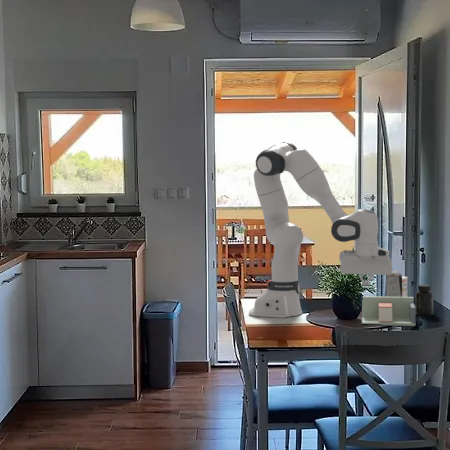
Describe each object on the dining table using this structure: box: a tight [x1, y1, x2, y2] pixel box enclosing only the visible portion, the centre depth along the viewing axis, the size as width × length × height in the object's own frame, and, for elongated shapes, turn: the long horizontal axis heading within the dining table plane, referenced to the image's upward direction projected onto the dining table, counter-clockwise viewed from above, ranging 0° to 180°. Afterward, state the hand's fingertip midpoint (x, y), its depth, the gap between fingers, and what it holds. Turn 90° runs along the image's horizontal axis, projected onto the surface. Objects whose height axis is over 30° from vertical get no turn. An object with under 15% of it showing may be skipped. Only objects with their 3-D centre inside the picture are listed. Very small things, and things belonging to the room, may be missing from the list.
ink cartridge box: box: [392, 269, 409, 297], centre depth 303 cm, size 9×5×15 cm, turn 144°
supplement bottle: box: [415, 284, 434, 317], centre depth 279 cm, size 7×7×12 cm
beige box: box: [379, 303, 392, 322], centre depth 266 cm, size 5×8×6 cm, turn 168°
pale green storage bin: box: [361, 295, 417, 327], centre depth 267 cm, size 20×12×9 cm, turn 78°
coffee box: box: [385, 272, 403, 297], centre depth 284 cm, size 9×6×16 cm
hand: (365, 285), depth 268 cm, fingers closed
